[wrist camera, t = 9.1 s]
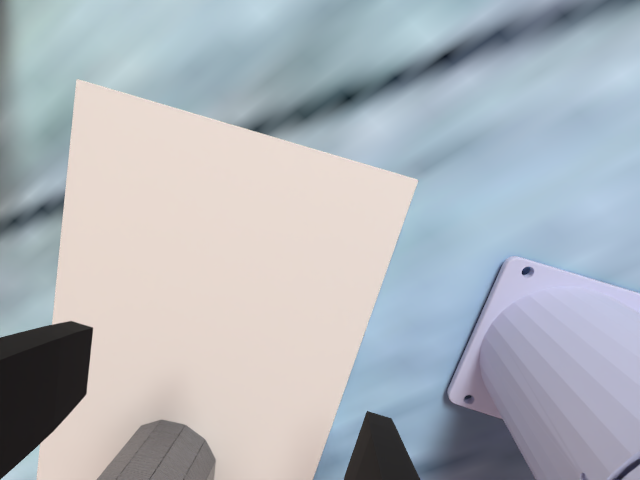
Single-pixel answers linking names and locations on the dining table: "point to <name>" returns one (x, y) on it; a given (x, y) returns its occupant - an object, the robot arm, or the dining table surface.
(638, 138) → the dining table surface
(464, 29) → the dining table surface
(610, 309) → the robot arm
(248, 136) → the board
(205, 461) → the steel tube
